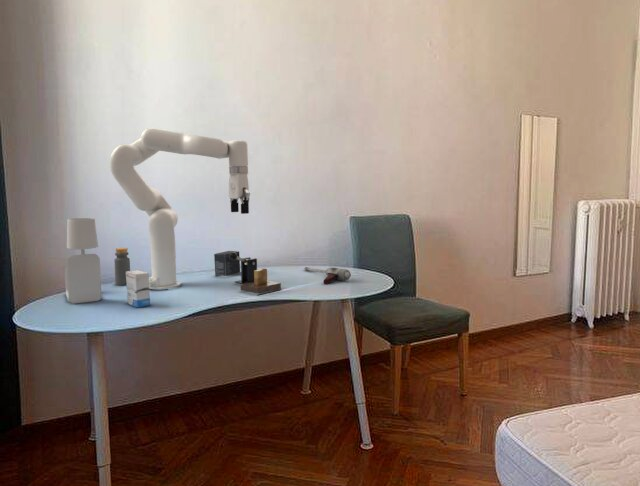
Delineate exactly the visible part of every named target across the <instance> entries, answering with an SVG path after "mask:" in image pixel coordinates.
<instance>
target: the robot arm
mask: <svg viewBox="0 0 640 486" xmlns="http://www.w3.org/2000/svg"><path fill="white" fill-rule="evenodd" d="M248 148H249V147H248V142H247V140H243V139H233V140H232V139H231V140H229V141H228V140H223V139H221V138H215V137H209V136H202V135H197V134H191V133H188V132H182V131H176V130H175V131H174V130H169V129H162V128H156V127H148V128H146V129H144V130H143V131H142V133H141V135H140V138H138V139H137V140H134V141H133V142H132V143H130V144H129V143H124V144H123V143H122V144H120V145H118V146H116V147H115V148H114V149H113V151H112V152H111V155H110V158H109V169H110V172H111V174H112V176H113V178H114V179H115V181H116V183H118V184H119V186H120V187H121V188H122V190H123V192H124V193H125V194H126V196H127V197H128V198H129V199H130V200H131V202H132V203H133V205H134V207H136V209H138V210H139V211H143V212H145V213H146V214H147V215H148V217H149V218H148V222H147V223H148V233H149V244H150V247H149V248H150V267H151V269H150V270H151V275H150V276H148V277H149V290H156V291H157V290H158V291H164V290H166V289H170V288H176V287H179V286H181V282H180V281H178V280H177V257H176V256H177V255H176V254H177V253H176V251H177V250H176V235H175V227H176V226H177V225H178V222H179V221H178V220H179V219H178V215H177V212H176V211H175V209H173V206H171V204H170V203H169V202H168V201H167V200H166V198H165V197H164V195H163V194H162V193H161V191H159V190H158V189H157V188H155V187H152V186H149V184H148V183H146V181H145V180H144V178H143V177H142V176H141V174H140V173H139V171H137V169H136V168H135V167H136V166H138V165H140V164H142V163H144V162H145V161H147V160H148V159H150V158H151V157H153V156H154V155H156V154H157V153H158V152H166V153H173V154H178V155H194V156H203V157H208V158H214V159H219V160H220V159H228V173H229V174H228V175H229V178H228V198H229V199H230V201H229V202H230V212H231V213H238V212H240V214H242V215H245V214H249V213H250V205H249V204H250V196H251V193H250V190H249V187H250V186H249V178H248V175H249V156H248V155H249V153H248ZM239 200H240V202H241V203H240V207H239ZM239 208H240V209H239ZM239 210H240V211H239Z"/></svg>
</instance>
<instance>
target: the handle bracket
mask: <svg viewBox="0 0 640 486" xmlns="http://www.w3.org/2000/svg"><path fill="white" fill-rule="evenodd" d="M241 258H242V259H245V260H246V259H248V260H247V265H245V264H244V263H245V262H242V261H240V279H241V280H236V281H235V280H234V283H235V284H239V285H241V284H246V283H250V282H254V270H258V258H256V257H255V258H251V257H249V256H248V257H241Z"/></svg>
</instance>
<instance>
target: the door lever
mask: <svg viewBox="0 0 640 486" xmlns="http://www.w3.org/2000/svg"><path fill="white" fill-rule="evenodd" d="M229 258H230V259H231V260H235V259H238V260H240V262H241V261H242V262H245V263H244V264H245V265H247V260H248V259H246V260H245V259H242V258H243V257H238V256H237V254H236V253H235V252H232V253H230V255H229Z"/></svg>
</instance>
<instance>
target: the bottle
mask: <svg viewBox="0 0 640 486" xmlns="http://www.w3.org/2000/svg"><path fill="white" fill-rule="evenodd" d="M128 249H129V248H128V247H117V248H116V247H115V253H114V255H115V257H116V258H114V262H113V263H114V280H115V281H114V282H115V285H116V286H127V283H126V272H127V271H131V260H130V258H129V257H128V256H129V252H128Z"/></svg>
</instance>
